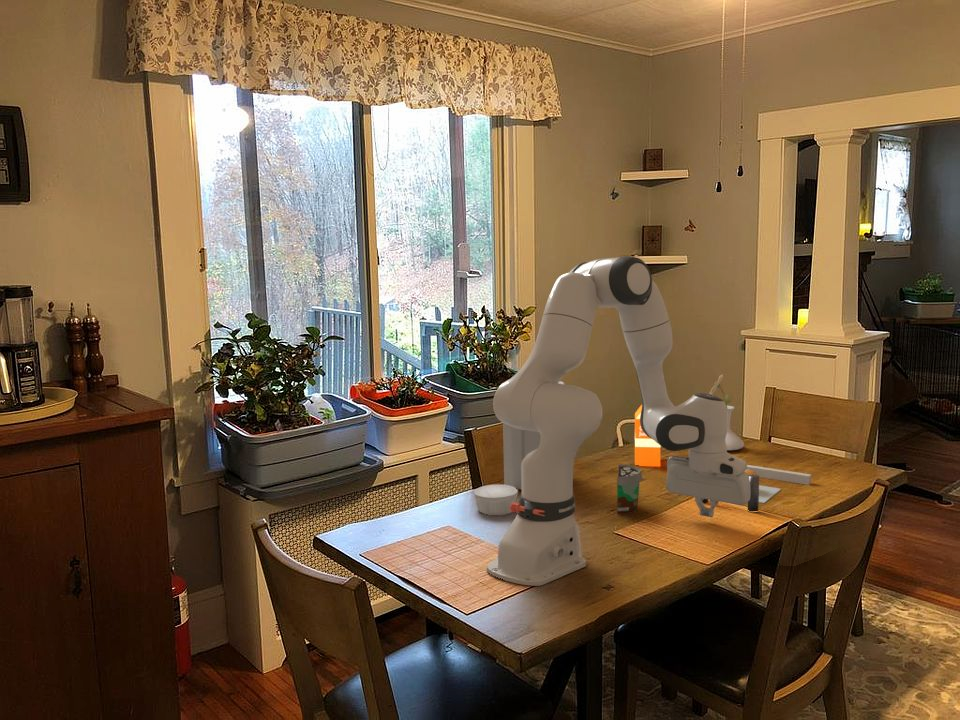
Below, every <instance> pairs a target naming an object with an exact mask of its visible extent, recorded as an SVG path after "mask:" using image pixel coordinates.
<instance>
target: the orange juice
mask: <svg viewBox="0 0 960 720" xmlns="http://www.w3.org/2000/svg"><path fill="white" fill-rule="evenodd" d="M641 409H642V404H641V405H640V406H639V407H638V408H637V410H636V411H635V413H634V466H635V465H639V466H638V467H661V448H662V446H660V445H659V444H658V443H656V442H655V441H654V440H653V439H651V438H649V437H648V436H647V435H646V434H645V433H644V432H643V430H642V428H641V425H640V415H641Z"/></svg>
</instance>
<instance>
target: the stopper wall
mask: <svg viewBox="0 0 960 720" xmlns="http://www.w3.org/2000/svg"><path fill="white" fill-rule="evenodd" d="M746 470H751V471H753V472H755V473H756V474H757V475H758V476H759V478H762V479H769V480H775V481H781V482H787V483H788V482H789V483H793V484H799V485H800V484H801V485H806V486H809V485H811V484H812V474H810V473H804V472H803V473H802V472H798V471H790V470H784V469H783V470H782V469H777V468H771V467H765V466H764V467H763V466H758V465H752V464H751V465H750V464H747V469H746Z"/></svg>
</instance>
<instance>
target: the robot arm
mask: <svg viewBox="0 0 960 720" xmlns="http://www.w3.org/2000/svg"><path fill="white" fill-rule="evenodd" d="M598 308H615V309H616V311H617V312H618V315H619V321H620V327H621V330H622V334H623V338H624V340H625V344H626V347H627V349H628V353H629V354H630V357H631V359H632V362H633V364H634V367H635V370H636V377H637V382H638V386H639V392H640V396H641V405H642V409H641V415H640V425H641V428H642V430H643V432H644V433H645V434H646V435H647V436H648V437H649V438H651V439H653V440H654V441H655V442H656V443H658V444H659V445H660V446H661V448H663V449H665V450H668V451H671V452H672V451H673V452H679V451H684V450H688V457H687V456H679V455H672V456H670V457H668V459H667V461H666V469H667V474H666V480H665V489H666V491H667V492H668V493H671V494H677V495H681V496H687V497H688V496H689V497H694V501H695V504H696V506H697V507H698V508H699V516H704V517H708V518H713V517H714V513H715V508H717V506H718V504H719V503H726V504H733V505H736V506H737V505H738V506H740V507H741V506H743V507H744V506H745V505H746V504H748V501H749V500H750V496H751V490H750V480H749V476H748V474H747V473H746V472H744V471H745V470H746V469H747V465H748V463H747V462H746V461H745V460H744V459H741V458H739V457H737V456H735V455H733V454H731V453H729V452H728V450H727V446H726V442H725V439H726V435H727V410H726V405H725V402H724V401H723V400H722V399H723V398H722V399H721V398H720V397H719V396H716V395H713V394H712V395H710V394H709V393H703V392H702V393H694V394H693V395H692V396H691V397H690V398H688V399H687V400H685V401H684V402H682V403H680V404H678V405H674V403H673V402H672V401H671V400H670V398H669V395H668V390H667V386H666V381H665V376H664V370H663V364H664V360H665V359H666V358H667V356H668V355H669V354H670V353H671V351H672V349H673V346H674V343H673V341H674V340H673V330H672V324H671V321H670V316H669V313H668V310H667V307H666V304H665V301H664V298H663V296H662V294H661V292H660V289H659V287H658V285H657V283H656V282H655V281H653V277H652V274H651V270H650V269H649V267H648V265H647V263H646V262H645V261H644V260H642V259H641V258H640V257H636V256H632V255H631V256H630V255H629V256H628V255H623V256H620V257H608V258H607V257H602V258H598V259H593V260H591V261H584V262H581V263H578V264H577V265H575V266H574V267H573V268H572V269H570V270H569V272H567V273H563V274H561V275H560V276H559V277H557V279H556V280H555V282H554V284H553V286H552V289H551V291H550V293H549V295H548V297H547V301H546V303H545V308H543V309H544V310H543V314H542V316H541V317H542V318H541V322H540V325H539V329H538V332H537V337H536V340H535V342H534V346H533V348H532V351H531V352H530V354H529V356H528V357H527V359H526V361H525V362H524V364H523V365H522V367H520V369H519V370H518V371H517V372H516V373H515V374H514V375H513V376H512V377H511V378H509V379H507V380H505V381H504V382H502V383H501V384H500V385H499V386H498V388H497V389H496V391H495V393H494V396H493V400H492V401H493V402H492V405H493V411H494V415H495V417H496V418H497V420H498V421H499V422H500V423H502V424H503V423H505V424H507V425H509V426H512V427H514V428H517V429H521V430H527V431H533V432H539V433H540V434H541V441H540V445H539V448H537V449H535V450H533V451H531V452H530V453H528V454H527V455H526V456H525V458H524V459H523V461H522V464H521V476H522V489H521V493H520V495H519V499H518V501H517V502H518V503H517V502H516V503H515V502H512V503H511V505H510V510H511V513H516V516H515V518H514V519H513V521H512V522H511V524H510V525H509V526H508V528H507V530H506V532H505V533H504V534H503V536H502V538H501V539H500V540H499V543H498V550H497V556H496V557H495V559H494V560H492V561H491V562H489V564H488V565H487V566H486V572H487V571H488V572H489V573H490V575H491V574H492V575H491V576H493V577H495V576H496V577H495V578H497V577H498V578H497V579H500V578H501V579H500V580H502V579H503V581H506V582H508V583H509V582H510V583H512V584H513V583H514V584H517V585H523V586H531V587H532V586H533V587H534V586H535V587H537V586H539V587H540V586H544V585H546V584H549V583H550V582H552V581H555V580H557V579H559V578H562V577H564V576H566V575H568V574H571V573H573V572H575V571H578V570H580V569H582V568H585V567H587V561H586V559H585V558H584V557H583V556H582V555H583V554H582V544H581V543H582V541H581V535H580V534H581V532H580V527H579V524H578V523H577V521H576V518H575V514H574V513H576V498H575V494H574V491H573V490H574V488H573V487H574V486H573V485H574V484H573V481H574V480H573V479H574V463H575V459H576V455H577V452H578V451H579V449H580V446H581V445H582V444H583V442H584V441H585V440H586V439H587V438H589V437H590V436H592V435H593V434H594V433H595V432H596V431H597V430H598V428H599V427H600V425H601V422H602V418H603V406H602V403H601V401H600V398H599V397H598V395H597V394H596V393H595V392H593V391H591V390H588V389H586V388H583V387H580V386H577V385H574V384H573V385H572V384H565V383H564V384H558V383H559V381H561V380H562V378H563V377H564V376H565V375H566V374H567V373H568V372H570V371H571V370H574V369H576V368H578V367H580V365H581V364H583V362H584V360H585V359H586V355H587V352H588V347H589V343H590V339H591V333H592V329H593V326H594V321H595V315H596V310H597V309H598ZM704 499H708V501H709V504H710V507H708V506H707V507H706V506H705V503H703V502H702V500H704ZM488 572H487V573H488ZM489 573H488V574H489Z"/></svg>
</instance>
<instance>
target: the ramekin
mask: <svg viewBox="0 0 960 720" xmlns="http://www.w3.org/2000/svg"><path fill="white" fill-rule="evenodd" d="M473 494H474V497H475V501H476V507H477V510H478V511H479V512H480V513H481V512H482V513H481V514H483V513H484V514H483V515H486V514H488V515H487V516H492V515H498V516H505V514H506V515H509V514H511V513H512V512H511V510H510V505H511V503H512V502H515V503H517V499H518V495H519V489H516V488H515V487H512V486H509V485H504V484H487V485H482V486H480V487H478V488H476V489H475V490H474V491H473Z"/></svg>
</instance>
